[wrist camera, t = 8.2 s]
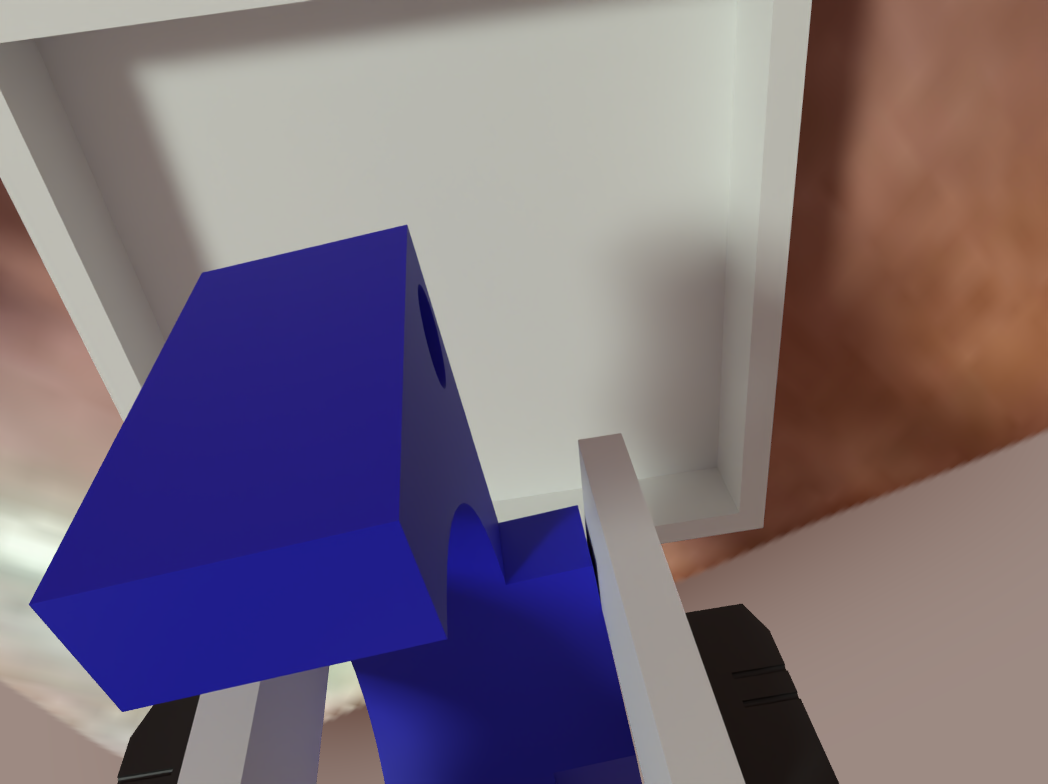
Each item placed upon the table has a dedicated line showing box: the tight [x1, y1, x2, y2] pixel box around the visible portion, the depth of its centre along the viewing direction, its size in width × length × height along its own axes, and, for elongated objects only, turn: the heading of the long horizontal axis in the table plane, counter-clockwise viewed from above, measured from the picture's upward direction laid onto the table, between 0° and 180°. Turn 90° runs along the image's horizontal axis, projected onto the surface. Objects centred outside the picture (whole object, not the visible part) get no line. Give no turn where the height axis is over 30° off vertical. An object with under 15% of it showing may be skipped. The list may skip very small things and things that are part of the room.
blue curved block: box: [29, 225, 642, 784], centre depth 12 cm, size 12×4×6 cm, turn 11°
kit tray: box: [0, 0, 812, 544], centre depth 21 cm, size 17×17×3 cm
